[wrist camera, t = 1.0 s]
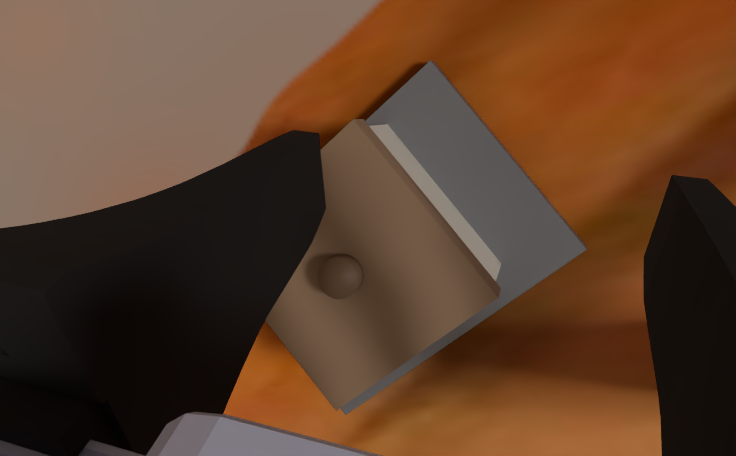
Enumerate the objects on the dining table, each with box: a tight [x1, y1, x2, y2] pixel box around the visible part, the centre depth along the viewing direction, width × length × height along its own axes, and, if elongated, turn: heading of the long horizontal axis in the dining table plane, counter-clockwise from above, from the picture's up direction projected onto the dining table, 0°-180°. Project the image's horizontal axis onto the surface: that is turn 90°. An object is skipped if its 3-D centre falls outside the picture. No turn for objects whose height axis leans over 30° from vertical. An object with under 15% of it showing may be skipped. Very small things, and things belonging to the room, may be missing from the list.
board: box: [341, 60, 587, 415], centre depth 34 cm, size 18×13×1 cm
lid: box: [265, 119, 501, 411], centre depth 28 cm, size 10×10×2 cm
